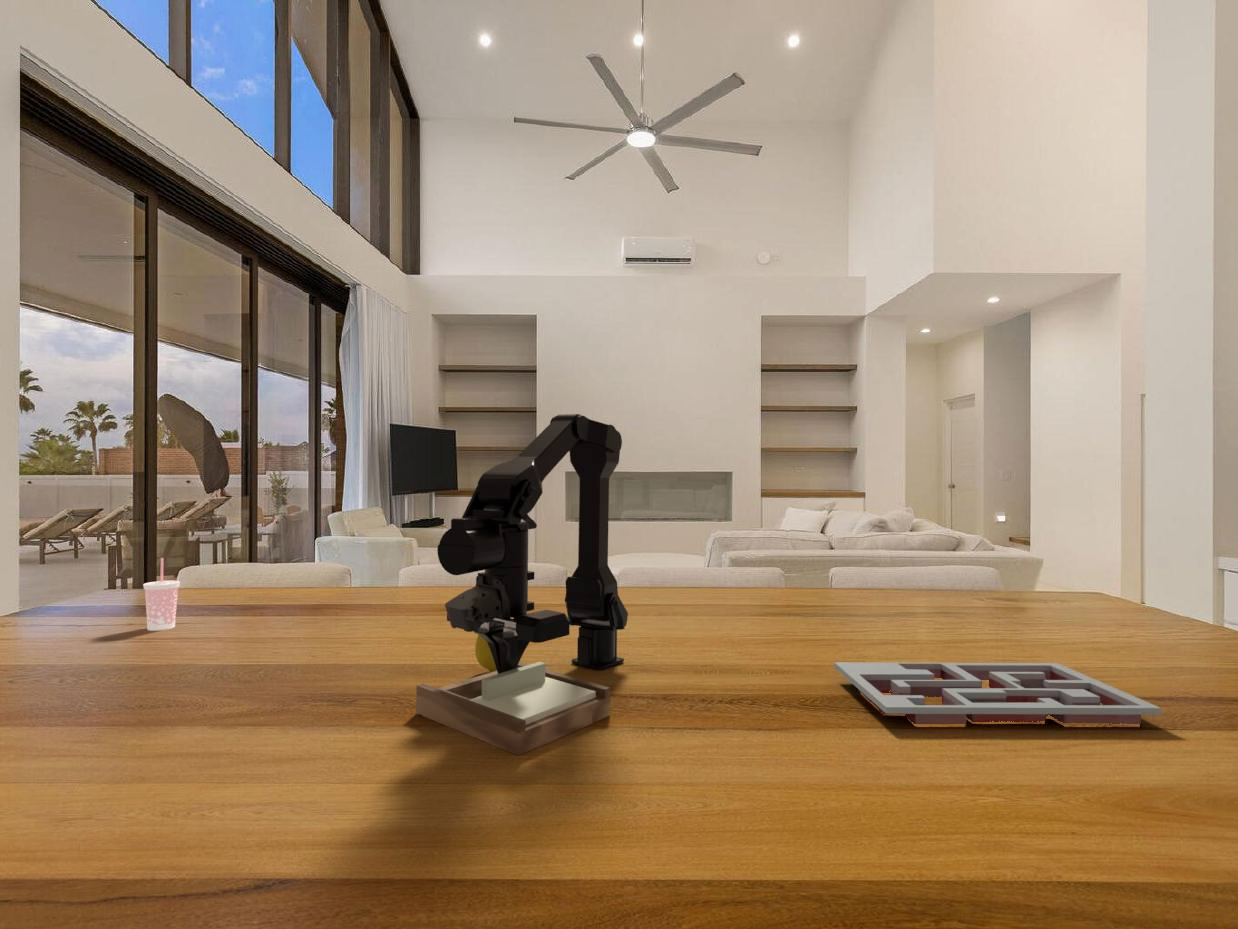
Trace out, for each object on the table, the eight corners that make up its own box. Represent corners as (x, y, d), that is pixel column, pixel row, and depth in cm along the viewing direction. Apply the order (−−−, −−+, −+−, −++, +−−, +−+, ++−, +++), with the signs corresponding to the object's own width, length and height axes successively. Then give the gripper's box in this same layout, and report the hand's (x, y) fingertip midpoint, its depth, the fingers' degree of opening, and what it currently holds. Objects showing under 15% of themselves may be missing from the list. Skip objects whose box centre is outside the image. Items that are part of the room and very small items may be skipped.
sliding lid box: (508, 683, 101) (508, 659, 101) (609, 715, 88) (610, 687, 88) (416, 713, 88) (416, 685, 88) (518, 755, 76) (519, 723, 76)
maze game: (1057, 683, 104) (1057, 663, 104) (1161, 733, 85) (1161, 708, 85) (834, 682, 104) (834, 662, 104) (886, 732, 84) (886, 707, 84)
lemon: (502, 679, 103) (503, 627, 103) (469, 677, 104) (469, 625, 104) (515, 669, 108) (515, 619, 108) (483, 666, 109) (483, 617, 109)
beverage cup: (166, 631, 131) (166, 560, 131) (134, 631, 131) (135, 559, 131) (186, 624, 137) (187, 556, 137) (157, 624, 137) (157, 555, 137)
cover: (542, 681, 94) (542, 658, 94) (595, 697, 88) (595, 672, 88) (467, 706, 84) (467, 680, 84) (521, 726, 78) (521, 698, 78)
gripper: (413, 564, 89) (412, 681, 89) (506, 580, 77) (505, 716, 77) (480, 556, 98) (479, 663, 98) (573, 569, 86) (571, 691, 86)
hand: (505, 681), depth 89 cm, fingers closed
